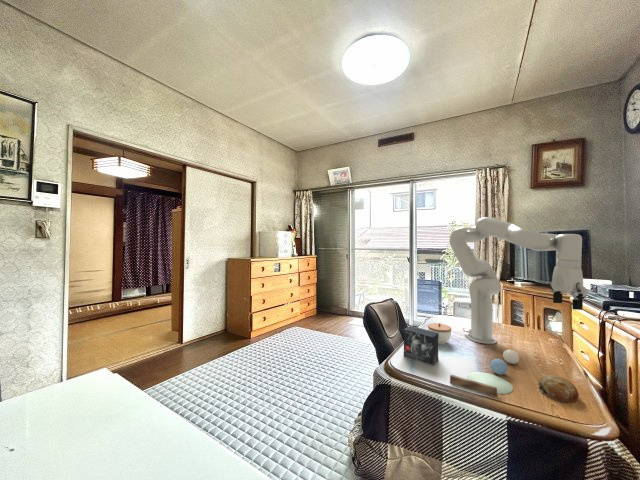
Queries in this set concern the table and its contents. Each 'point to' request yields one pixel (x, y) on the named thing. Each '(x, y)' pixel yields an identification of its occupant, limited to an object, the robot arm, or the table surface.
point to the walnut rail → (473, 385)
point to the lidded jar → (441, 332)
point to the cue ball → (511, 356)
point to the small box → (421, 344)
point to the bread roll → (558, 388)
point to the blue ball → (499, 366)
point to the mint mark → (491, 381)
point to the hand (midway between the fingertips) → (567, 306)
